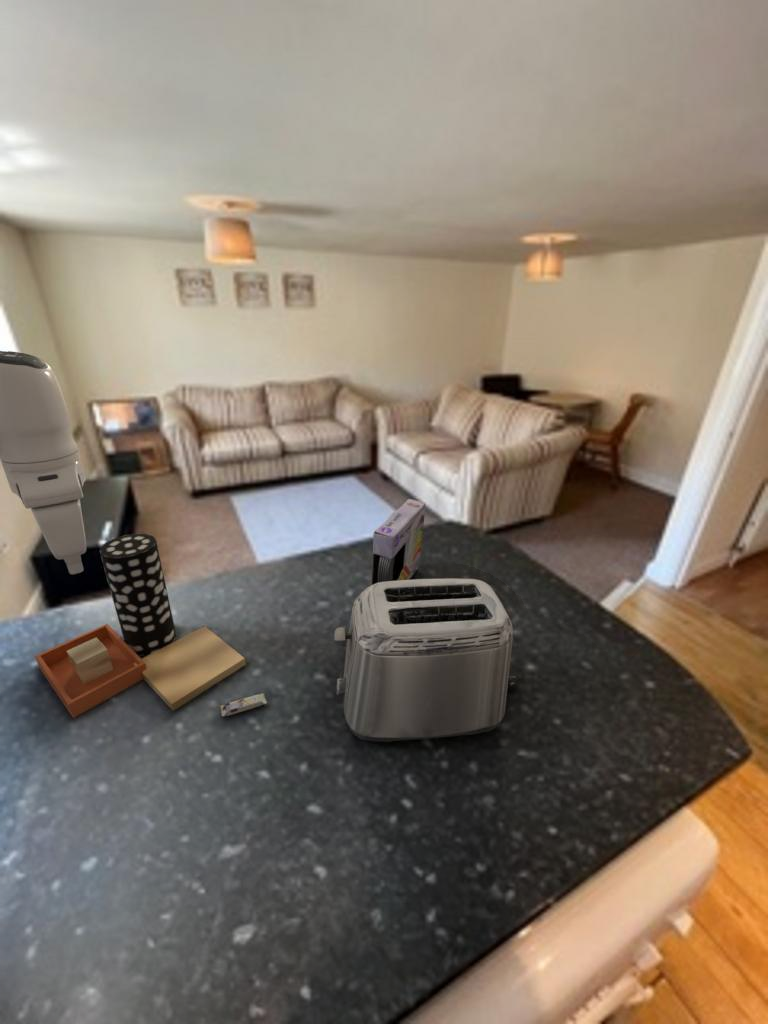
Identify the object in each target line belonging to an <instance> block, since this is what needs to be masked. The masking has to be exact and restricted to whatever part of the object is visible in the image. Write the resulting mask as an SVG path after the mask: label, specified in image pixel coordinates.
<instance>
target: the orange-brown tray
mask: <svg viewBox="0 0 768 1024" xmlns="http://www.w3.org/2000/svg"><path fill="white" fill-rule="evenodd" d="M96 637H97V638H98V640H99V641H100V642H101V643H102V644H103V645H104V646H105V647H106V648H107V650H108V653H109V657H110V660H111V663H112V667H113V670H112V671H110V672H108V673H107V674H105V675H103V676H101V677H99V678H97V679H95V680H93V681H91V682H89V683H87V684H85V685H83V684H82V682H81V681H80V680H79V678H78V677H77V676H76V674H75V673H74V672H73V669H72V666H71V663H70V660H69V657H68V654H67V651H68V650H70V649H72V648H74V647H76V646H78V645H81V644H83V643H85V642H87V641H89V640H91V639H94V638H96ZM34 657H35V660H36V662H37V665H38V669H39V670H40V671H41V673H42V674H43V676H44V677H45V679H46V680H47V681H48V683H49V684H50V686H51V687H52V689H53V690H54V692H55V693H56V695H57V696H58V698H59V700H60V701H61V702H62V704H63V705H64V707H65V708H66V710H67V711H68V713H69V714H70V716H71V717H72V718H73V719H74V718H76V717H78V716H80V715H81V714H83V713H85V712H86V711H89V710H90V709H92V708H95V707H96V706H98V705H99V704H101V703H103V702H105V701H107V700H109V699H110V698H112V697H114V696H116V695H117V694H119V693H121V692H122V691H124V690H126V689H128V688H129V687H132V686H134V685H135V684H137V683H139V682H140V681H143V680H144V679H143V676H142V672H143V671H145V670H146V669H147V667H146V663H145V662H144V661H143V660H142V658H141V657H140V656H138V655H137V654H136V653H135V652H134V651H133V650H132V649H131V648H130V647H129V646H128V645H127V644H126V643H125V641H124V638H123V637H121V636H120V635H119V634H118V633H117V632H116V631H115V630H114V629H113V627H111V626H110V624H108V623H106V624H104V625H101V626H99V627H96V628H94V629H92V630H89V631H87V632H86V633H83V634H81V635H79V636H76V637H74V638H72V639H70V640H67V641H65V642H63V643H61V644H59V645H57V646H54V647H52V648H50V649H47V650H45V651H43V652H41V653H38V654H37V655H35V656H34ZM133 663H136V664H137V665H136V666H135V667H134V664H133Z"/></svg>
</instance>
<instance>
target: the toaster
mask: <svg viewBox="0 0 768 1024" xmlns="http://www.w3.org/2000/svg"><path fill="white" fill-rule="evenodd" d="M353 602H354V603H353V605H352V609H351V615H350V622H349V623H350V624H349V629H348V632H347V629H346V626H339V627H336V629H335V631H334V638H333V641H334V644H335V645H336V646H337V647H345V646H346V651H345V660H344V668H343V669H344V670H343V677H339V678H338V677H337V679H336V687H335V688H336V689H335V692H336V693H335V694H336V695H337V696H342V697H343V713H344V718H345V721H346V723H347V725H348V728H349V730H350V732H351V733H352V734H353V735H354V736H355V737H356V738H358V739H360V740H362V741H366V742H375V743H377V742H378V743H390V742H391V743H392V742H396V741H412V740H413V741H414V740H427V739H441V738H450V737H457V736H458V737H459V736H473V735H478V734H482V733H489V732H491V731H492V730H495V729H496V728H497V727H498V726H499V725H500V724H501V723H502V721H503V719H504V717H505V714H506V705H507V698H508V697H507V696H508V691H511V687H512V686H514V685H516V682H515V681H512V679H516V678H517V676H515V675H513V676H512V675H511V676H510V669H511V668H510V667H511V659H512V650H513V643H514V642H513V640H514V630H513V624H512V621H511V618H510V617H509V615H508V612H507V610H506V608H505V607H504V605H503V603H502V602H501V600H500V598H499V597H498V595H497V593H496V592H495V591H494V589H493V588H492V587H491V585H489V584H488V583H487V582H485V581H483V580H481V579H475V578H417V579H410V580H399V581H387V582H380V583H376V584H374V585H369V586H368V587H366V588H365V589H364V590H362V591H361V592H360V593H359V595H357V597H356V598H355V600H354V601H353ZM346 641H347V643H346ZM511 681H512V682H511Z"/></svg>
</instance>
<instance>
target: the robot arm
mask: <svg viewBox="0 0 768 1024" xmlns="http://www.w3.org/2000/svg"><path fill="white" fill-rule="evenodd" d="M0 461H1V465H2V468H3V471H4V474H5V478H6V479H7V483H8V485H9V488H10V491H11V492H12V493H13V494H15V495H16V496H17V497H19V498H20V500H21V502H22V505H23V507H24V508H25V509H30V511H31V512H32V515H33V517H34V519H35V521H36V523H37V525H38V527H39V530H40V532H41V534H42V536H43V539H44V540H45V542H46V544H47V547H48V549H49V550H50V553H52V555H53V557H54V558H55V559H56V560H63V561H64V564H65V565H66V567H67V571H68V573H69V574H70V575H76V574H80V573H82V572H84V571H85V570H84V565H83V562H82V555H84V554H85V553H86V552H87V538H86V531H85V530H86V529H85V524H84V517H83V512H82V504H81V500H82V499H84V489H83V487H84V485H85V482H86V481H87V477H86V473H85V468H84V465H83V462H82V458H81V454H80V449H79V446H78V444H77V443H76V441H75V440H74V438H73V436H72V433H71V417H70V414H69V410H68V406H67V403H66V399H65V396H64V394H63V391H62V388H61V386H60V383H59V380H58V378H57V376H56V374H55V372H54V370H53V369H52V368H51V366H50V365H49V364H48V363H47V362H46V361H45V360H44V359H41V358H39V357H38V356H36V355H33V354H29V353H26V352H25V353H24V352H19V351H12V350H11V351H10V350H8V351H4V350H0Z"/></svg>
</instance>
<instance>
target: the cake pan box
mask: <svg viewBox="0 0 768 1024" xmlns="http://www.w3.org/2000/svg"><path fill="white" fill-rule="evenodd" d="M426 505H427V504H426V502H422V501H419V500H414V499H411V498H408V499H407V500H405V502H404V503H403V504H402V505H401V506H400V507H399V508H398V509H395V511H394V512H392V513H391V514H390V515H389V516H388V517H387V519H386V520H385V521H384V522H383V523H381V525H380V526H379V527H378V528H376V529H374V531H373V541H372V542H373V543H372V565H371V566H372V567H371V569H372V570H371V584H370V586H372V585H374V584H376V583H380V582H387V581H399V580H411V578H412V577H413V576H414V574H415V573H416V572H417V570H418V569H419V568H420V563H421V554H422V545H423V544H422V543H423V532H424V524H425V517H426V516H425V515H426V514H425V513H426ZM418 565H419V566H418ZM417 566H418V568H417ZM416 568H417V569H416ZM414 571H415V572H414ZM413 572H414V573H413Z"/></svg>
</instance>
